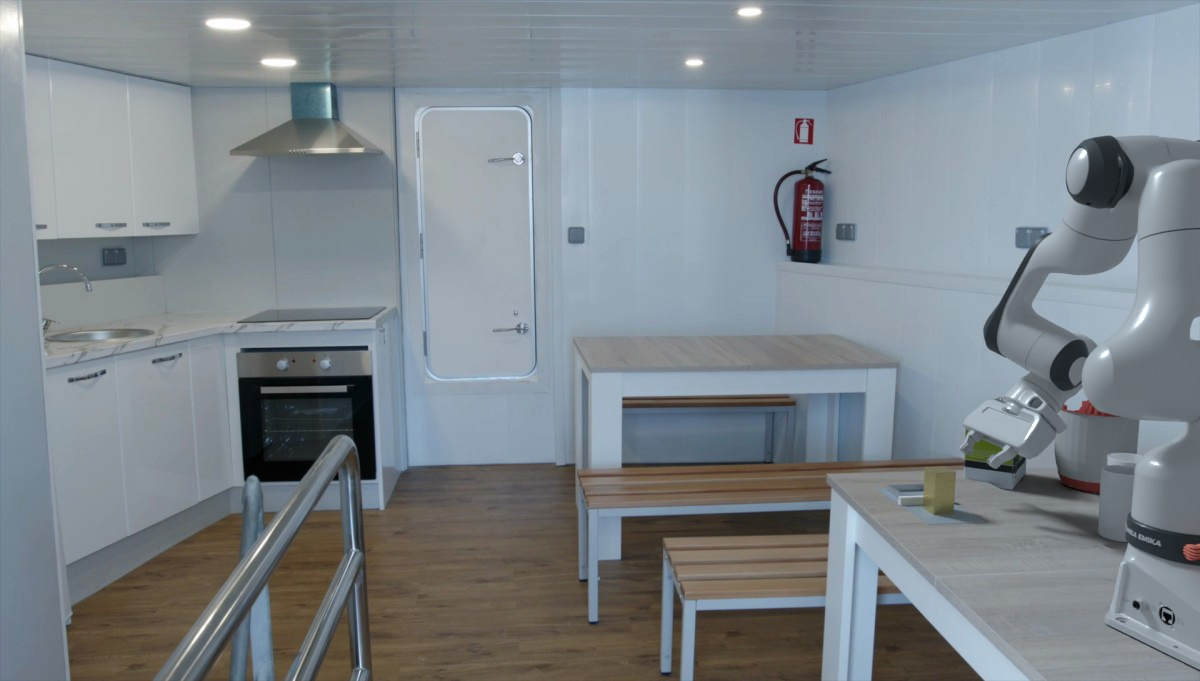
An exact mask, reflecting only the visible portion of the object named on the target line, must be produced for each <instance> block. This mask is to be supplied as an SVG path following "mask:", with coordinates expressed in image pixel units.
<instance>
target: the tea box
mask: <svg viewBox="0 0 1200 681" xmlns="http://www.w3.org/2000/svg"><path fill="white" fill-rule="evenodd" d="M964 430H965V435H964V437H965V438H964V440H965V439H966V436H967V434H968V433H969V431H968V430H967V429H966V428H965V427H964ZM973 449H974V451H973V452H971V453H970V455H966V454H963V456H964V457H963V459H964V460H963V461H964V463H963V479H966V480H971V481H978V482H984V483H988V484H990V485H992V486H994V487H996V488H999V489H1001V490H1002V489H1003V490H1013V489H1014V488H1015V487H1016V485H1017V484H1018V483H1019V482H1020V481H1021V480H1022V478H1023V477H1024V476H1025V475H1026V474H1027V458H1025V457H1022V456H1020V455H1018V454H1017V455H1016V456H1015V457H1014V458H1013V459H1011V460H1009V461H1007V462H1004V463H1002V464H1001V465H1000V466H999V467H998V468H997V469H995V468H993V467H991V466H989V464H988V463H987V459H989V458H990V456H991V455H996V454H998V453H999V452H1001V451H1003V449H1002V447H999V446H997V445H995V444H992V443H990V442H988V441H985V440H983V439H981V440H980V441H979V442H976V443H975V445H974V447H973Z"/></svg>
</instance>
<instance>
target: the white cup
mask: <svg viewBox="0 0 1200 681" xmlns="http://www.w3.org/2000/svg"><path fill="white" fill-rule="evenodd" d="M1143 455H1144V454H1143ZM1143 455H1141V454H1138V453H1137V454H1130V453H1111V454H1108V455H1107V465H1121V466H1129V467H1134V468H1135V466H1136V464H1137V462H1138V461H1139V459H1140V458H1141V457H1142V456H1143Z"/></svg>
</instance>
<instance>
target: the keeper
mask: <svg viewBox="0 0 1200 681" xmlns="http://www.w3.org/2000/svg"><path fill="white" fill-rule="evenodd" d="M886 488H887V491H888V492H889V493H891V494H892V495H894V496H895V497H897V498H898V496H918V495H905V494H903V493H902V492H900V491H918V490H921V491H923V492H924V483H910V484H909V483H907V484H905V483H904V484H886Z"/></svg>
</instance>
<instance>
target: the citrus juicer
mask: <svg viewBox="0 0 1200 681" xmlns="http://www.w3.org/2000/svg"><path fill="white" fill-rule="evenodd" d="M1057 414H1058V415H1059V416H1060V418H1061V419H1062V420H1063V421H1064V422H1065V424H1066V425H1067V428H1066V429H1065V430H1064V431H1063V432H1062V433H1060V434H1058V433H1056V437H1055V439H1054V459H1055V464H1056V468H1057V475H1058V477H1059V479H1060V481H1061V483H1062V484H1063V485H1065V486H1067V487H1068V488H1069V487H1070V488H1073V489H1077V490H1081V491H1085V492H1086V493H1090V494H1097V493H1100V480H1101V467H1102V466H1106V465H1107V455H1108V454H1111V453H1130V454H1137V455H1138V446H1139V445H1138V444H1139V432H1140V431H1139V430H1140V423H1141V422H1140V421H1141V420H1134V419H1129V418H1124V417H1120V416H1115V415H1111V414H1107V413H1103V412H1100V411H1098V410H1097V409H1096V408H1095V407H1094V406H1093V405H1092V404H1091V403H1090V402H1089V400H1088V399H1087V400H1082V401H1081V406H1080V407H1079V409H1078V410H1077V409H1076V410H1070V409H1068V405H1067V404H1065V403H1064V405H1063V407H1062V409H1061V410H1060V411H1059V412H1058V413H1057Z"/></svg>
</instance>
